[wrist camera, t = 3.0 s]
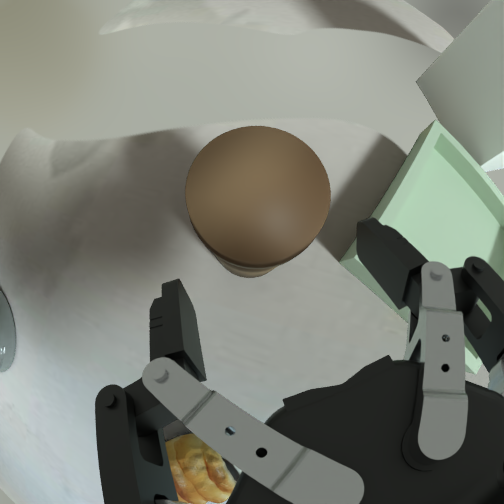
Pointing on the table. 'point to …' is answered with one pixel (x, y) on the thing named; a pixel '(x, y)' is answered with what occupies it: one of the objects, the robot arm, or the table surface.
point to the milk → (472, 87)
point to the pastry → (200, 471)
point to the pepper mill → (257, 198)
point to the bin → (441, 214)
